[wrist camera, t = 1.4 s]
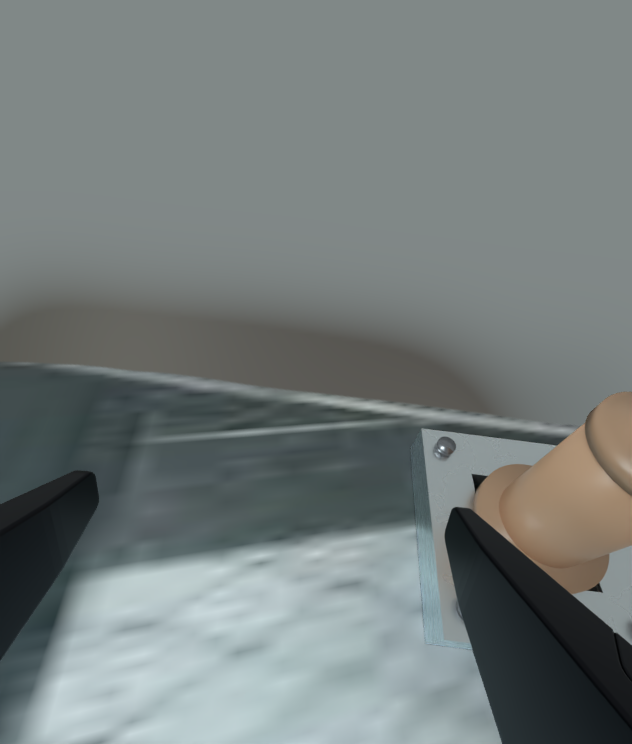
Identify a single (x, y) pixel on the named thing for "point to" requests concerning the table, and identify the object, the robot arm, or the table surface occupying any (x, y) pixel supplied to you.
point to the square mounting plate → (457, 489)
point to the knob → (569, 499)
